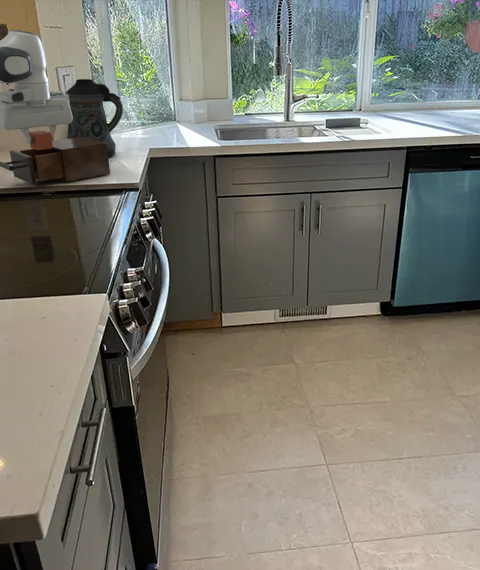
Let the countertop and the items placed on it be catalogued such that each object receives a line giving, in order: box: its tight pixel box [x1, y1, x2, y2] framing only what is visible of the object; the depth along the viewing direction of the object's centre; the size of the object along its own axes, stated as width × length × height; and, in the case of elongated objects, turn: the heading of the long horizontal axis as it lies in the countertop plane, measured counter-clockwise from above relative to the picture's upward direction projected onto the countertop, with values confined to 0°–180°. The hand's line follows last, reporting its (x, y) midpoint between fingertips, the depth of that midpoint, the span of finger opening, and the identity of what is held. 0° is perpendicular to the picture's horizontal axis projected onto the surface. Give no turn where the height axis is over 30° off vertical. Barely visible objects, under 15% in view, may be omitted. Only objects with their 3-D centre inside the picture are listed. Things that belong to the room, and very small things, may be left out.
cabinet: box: [52, 137, 111, 183], centre depth 182 cm, size 15×13×10 cm
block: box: [27, 130, 53, 150], centre depth 172 cm, size 4×4×4 cm
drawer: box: [0, 148, 64, 185], centre depth 173 cm, size 18×11×8 cm, turn 139°
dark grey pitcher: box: [64, 78, 124, 159], centre depth 202 cm, size 16×19×25 cm
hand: (40, 142), depth 172 cm, fingers closed on block, 4 cm apart
